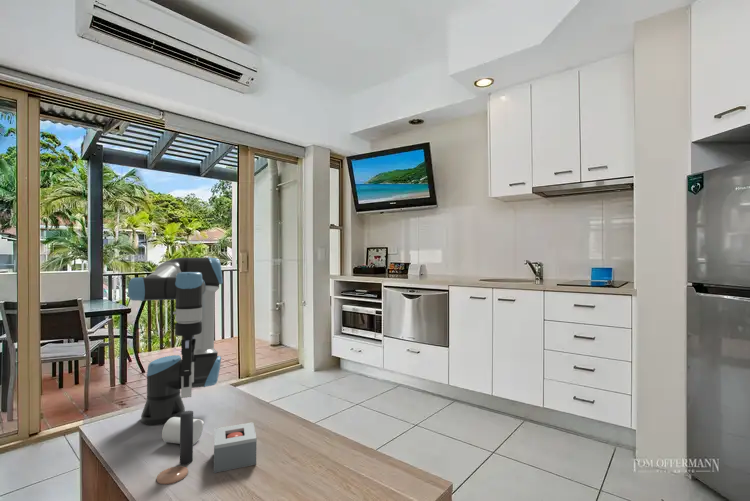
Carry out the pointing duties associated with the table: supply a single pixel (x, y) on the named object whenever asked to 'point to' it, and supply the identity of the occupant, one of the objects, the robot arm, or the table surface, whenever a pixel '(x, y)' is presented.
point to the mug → (173, 430)
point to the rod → (186, 437)
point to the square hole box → (234, 447)
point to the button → (234, 434)
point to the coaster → (172, 475)
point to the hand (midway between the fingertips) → (187, 389)
